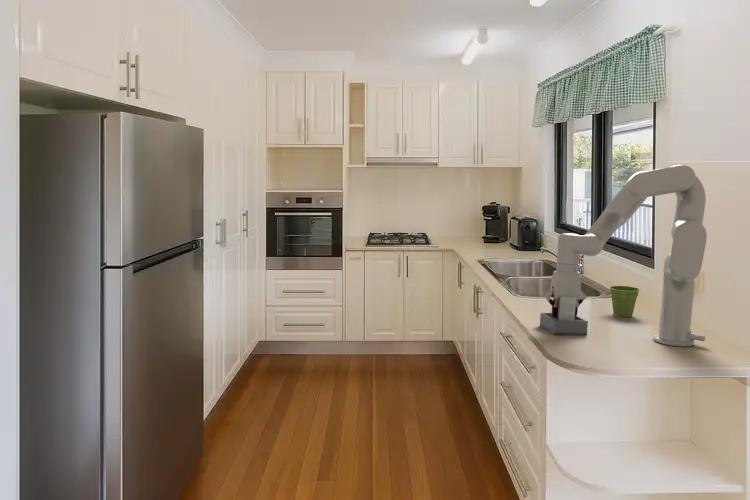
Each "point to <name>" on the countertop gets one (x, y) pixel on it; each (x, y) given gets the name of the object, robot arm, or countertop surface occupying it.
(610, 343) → the countertop surface
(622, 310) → the plant pot
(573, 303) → the small box
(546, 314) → the crate
